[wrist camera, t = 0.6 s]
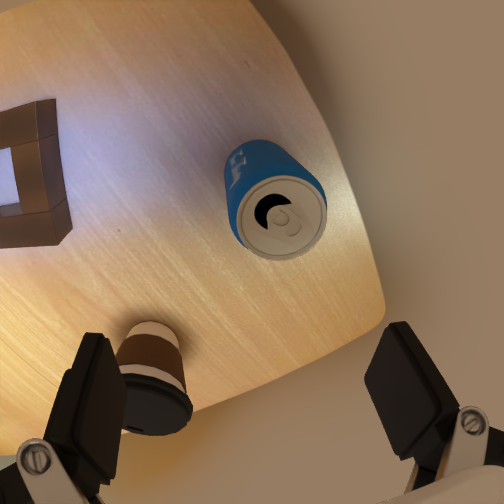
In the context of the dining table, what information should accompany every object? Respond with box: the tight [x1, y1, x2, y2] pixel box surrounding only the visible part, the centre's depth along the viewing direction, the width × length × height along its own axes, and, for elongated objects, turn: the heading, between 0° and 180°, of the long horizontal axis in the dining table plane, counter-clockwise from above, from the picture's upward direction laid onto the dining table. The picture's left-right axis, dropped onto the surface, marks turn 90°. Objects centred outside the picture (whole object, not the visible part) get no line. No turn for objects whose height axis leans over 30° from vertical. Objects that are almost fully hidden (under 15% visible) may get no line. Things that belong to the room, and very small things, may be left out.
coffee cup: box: [115, 321, 193, 436], centre depth 33 cm, size 11×11×12 cm
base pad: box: [0, 99, 72, 249], centre depth 24 cm, size 14×14×4 cm
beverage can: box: [224, 140, 327, 261], centre depth 24 cm, size 6×6×12 cm
